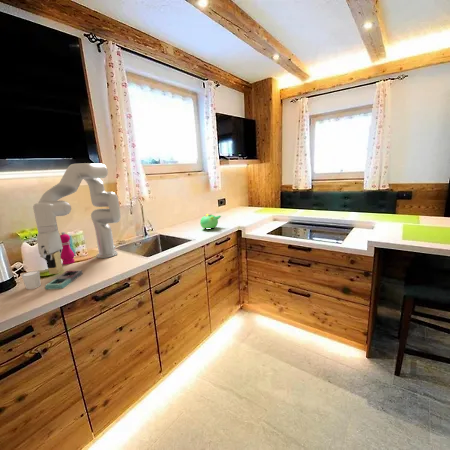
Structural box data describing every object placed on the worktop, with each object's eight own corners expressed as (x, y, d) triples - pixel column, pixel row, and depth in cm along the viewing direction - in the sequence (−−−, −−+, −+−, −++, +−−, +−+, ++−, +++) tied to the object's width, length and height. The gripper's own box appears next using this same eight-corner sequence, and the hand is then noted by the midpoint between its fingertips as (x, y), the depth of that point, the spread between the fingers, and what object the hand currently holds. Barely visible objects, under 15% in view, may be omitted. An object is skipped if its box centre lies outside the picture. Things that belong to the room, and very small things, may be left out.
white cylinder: (22, 288, 114) (18, 274, 112) (38, 282, 119) (35, 269, 118) (27, 291, 110) (24, 277, 109) (44, 285, 116) (41, 272, 114)
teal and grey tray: (67, 274, 128) (67, 271, 127) (82, 273, 128) (81, 270, 128) (45, 289, 111) (44, 285, 111) (62, 288, 112) (61, 284, 111)
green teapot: (207, 226, 232) (206, 212, 229) (222, 227, 225) (221, 212, 222) (197, 230, 216) (196, 215, 213) (213, 232, 209) (212, 215, 206)
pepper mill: (77, 260, 150) (71, 230, 146) (72, 264, 143) (66, 232, 139) (65, 261, 149) (59, 231, 145) (59, 265, 142) (53, 233, 138)
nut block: (54, 270, 115) (51, 251, 113) (63, 270, 115) (59, 251, 113) (49, 274, 111) (45, 254, 109) (57, 273, 112) (53, 253, 110)
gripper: (52, 225, 117) (58, 260, 121) (25, 233, 101) (33, 273, 104) (67, 225, 117) (73, 259, 121) (43, 232, 101) (50, 272, 105)
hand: (55, 265), depth 113 cm, fingers closed on nut block, 4 cm apart
